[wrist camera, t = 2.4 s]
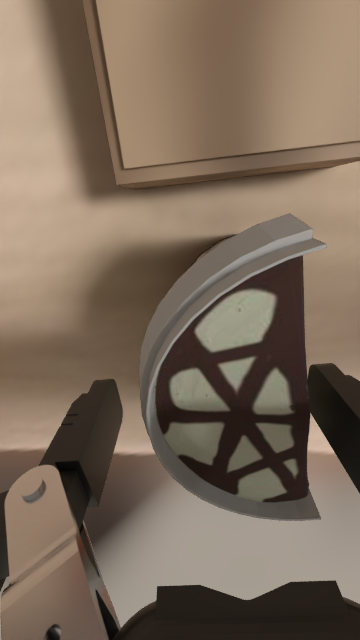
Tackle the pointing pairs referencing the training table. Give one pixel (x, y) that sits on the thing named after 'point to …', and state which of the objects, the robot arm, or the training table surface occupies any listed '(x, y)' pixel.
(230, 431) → the food container
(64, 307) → the training table surface
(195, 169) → the plinth
